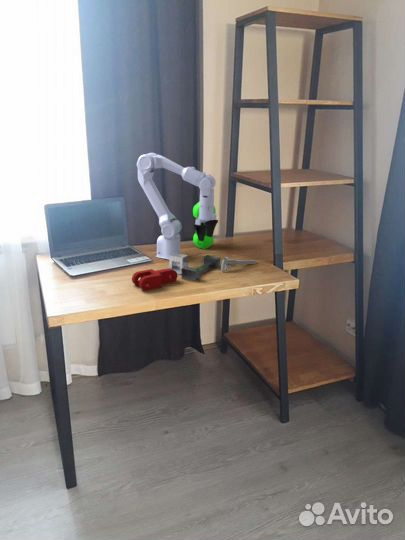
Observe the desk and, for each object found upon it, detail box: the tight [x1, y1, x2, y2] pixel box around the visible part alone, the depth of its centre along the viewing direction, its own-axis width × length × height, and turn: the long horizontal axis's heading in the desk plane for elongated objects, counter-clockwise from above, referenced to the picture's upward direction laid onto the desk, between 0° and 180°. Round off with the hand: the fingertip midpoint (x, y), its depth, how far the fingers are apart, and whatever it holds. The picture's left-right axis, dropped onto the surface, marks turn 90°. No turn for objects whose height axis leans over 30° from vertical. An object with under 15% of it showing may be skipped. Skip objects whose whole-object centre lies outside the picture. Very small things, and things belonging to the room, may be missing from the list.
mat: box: [165, 263, 194, 276], centre depth 177 cm, size 8×10×1 cm
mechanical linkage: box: [131, 267, 178, 292], centre depth 161 cm, size 16×7×5 cm, turn 125°
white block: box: [168, 253, 189, 271], centre depth 176 cm, size 6×4×6 cm, turn 61°
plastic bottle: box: [192, 200, 217, 250], centre depth 203 cm, size 10×10×25 cm
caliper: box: [220, 256, 259, 273], centre depth 181 cm, size 20×1×6 cm, turn 132°
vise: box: [180, 254, 221, 282], centre depth 174 cm, size 6×20×4 cm, turn 151°
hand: (205, 238), depth 186 cm, fingers open, 7 cm apart
